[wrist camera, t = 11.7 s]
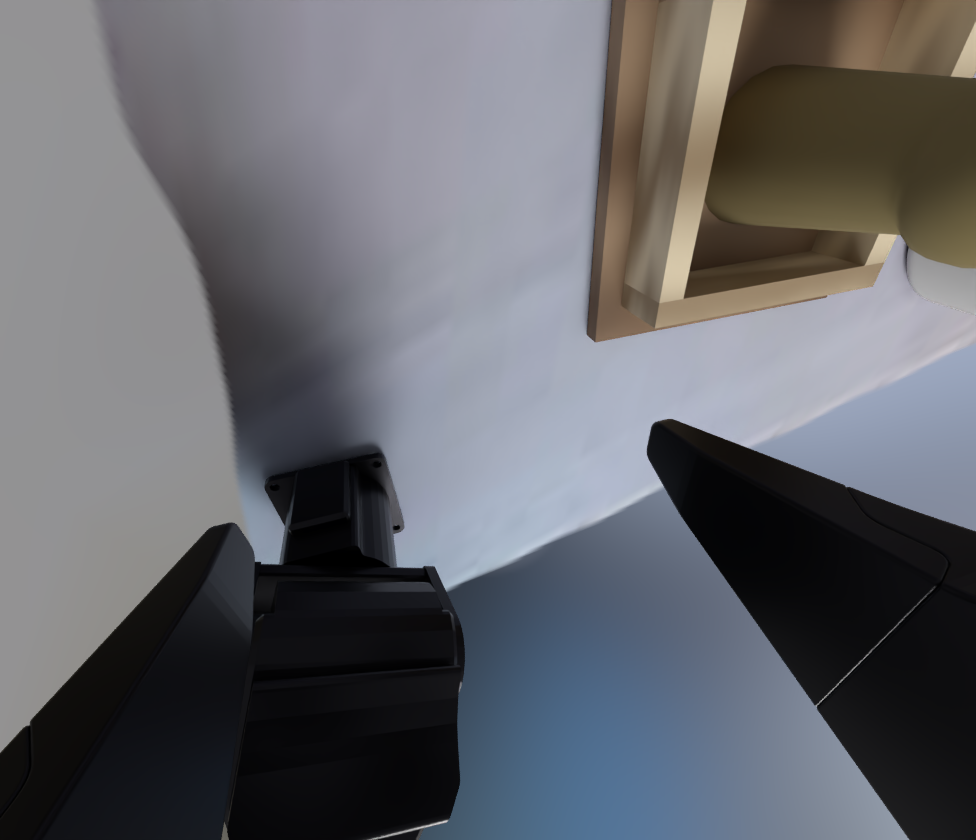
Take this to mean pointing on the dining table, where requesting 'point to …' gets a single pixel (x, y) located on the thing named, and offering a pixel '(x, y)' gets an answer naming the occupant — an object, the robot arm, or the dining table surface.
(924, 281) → the cylinder vase
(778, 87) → the cork
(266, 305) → the dining table surface
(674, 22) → the socket block
